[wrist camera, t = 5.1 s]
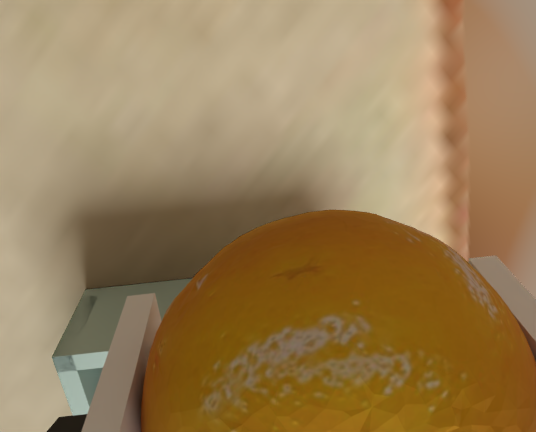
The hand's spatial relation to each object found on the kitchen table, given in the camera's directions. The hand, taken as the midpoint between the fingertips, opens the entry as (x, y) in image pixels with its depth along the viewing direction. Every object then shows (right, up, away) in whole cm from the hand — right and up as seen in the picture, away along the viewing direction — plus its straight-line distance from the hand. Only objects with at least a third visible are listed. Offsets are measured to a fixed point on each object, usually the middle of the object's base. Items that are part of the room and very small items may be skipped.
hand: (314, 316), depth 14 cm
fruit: (0, 0, +1) cm, 1 cm away
